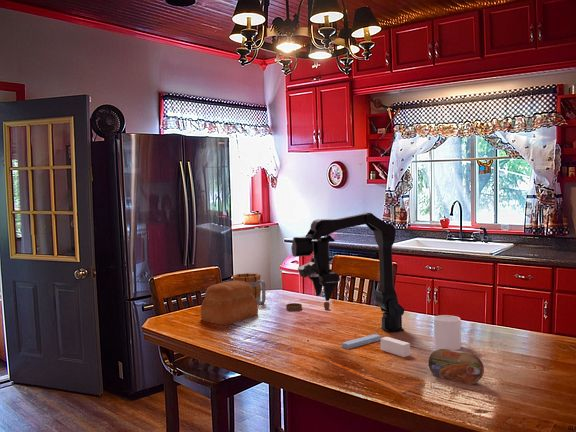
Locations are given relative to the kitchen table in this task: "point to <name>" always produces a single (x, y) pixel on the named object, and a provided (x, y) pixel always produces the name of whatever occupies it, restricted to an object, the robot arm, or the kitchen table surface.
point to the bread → (228, 303)
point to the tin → (456, 366)
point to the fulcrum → (395, 346)
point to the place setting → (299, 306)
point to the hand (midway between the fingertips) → (322, 298)
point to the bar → (361, 341)
